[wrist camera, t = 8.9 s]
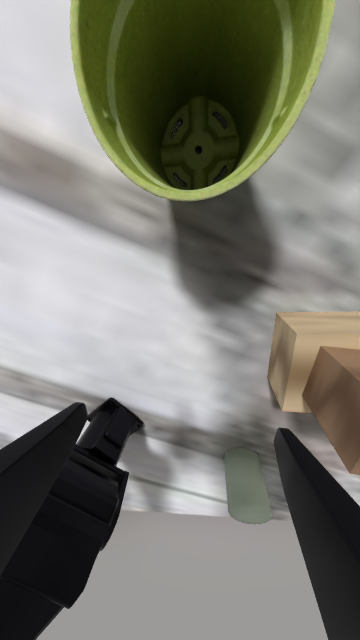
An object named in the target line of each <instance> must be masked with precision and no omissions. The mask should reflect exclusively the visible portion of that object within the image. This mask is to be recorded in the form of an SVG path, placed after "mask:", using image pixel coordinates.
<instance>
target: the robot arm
mask: <svg viewBox="0 0 360 640" xmlns="http://www.w3.org/2000/svg"><path fill="white" fill-rule="evenodd" d="M87 420H88V421H89V422H91V423H90V424H89V426H88V427H87V429H86V430H85V432H84V433H83V435H82V436H81V438H80V439H79V441H78V442H77V440H78V438H79V436H80V434H81V431H82V429H83V427H84V425H85V423H86V421H87ZM142 426H143V423H142V422H141V421H140V420H139V419H138V418H136V417H135V416H134V415H133V414H132V413H130V412H129V411H128V410H127V409H125V408H124V407H123V406H122V405H120V404H119V403H118V402H117V401H116V400H114V399H113V398H109V399H107V400H106V401H105V402H104V403H102V404H101V405H100V406H99V407H97V408H96V409H95V410H94V411H93V412H91V413H90V414H89V415H88V413H87V409H86V406H85V404H84V403H81V402H76V403H74V404H72V405H70V406H69V407H67V408H66V409H64V410H62V411H61V412H59V413H58V414H56V415H54V416H53V417H51V418H50V419H48V420H47V421H45V422H43V423H42V424H40V425H39V426H37V427H35V428H34V429H32V430H31V431H29V432H28V433H26V434H24V435H23V436H21V437H20V438H18V439H16V440H15V441H13V442H12V443H10V444H8V445H7V446H5V447H4V448H2V449H1V450H0V640H36V639H37V637H38V636H39V635H40V634H41V633H42V632H43V630H44V629H45V628H46V627H47V626H48V625H49V624H50V623H51V621H52V620H53V619H54V618H55V617H56V616H57V615H58V613H59V612H60V611H61V610H62V609H63V608H64V607H65V608H67V609H69V608H70V607H72V605H73V604H74V603H75V601H76V600H77V599H78V597H79V596H80V594H81V593H82V592H83V590H84V588H85V586H86V583H87V580H88V578H89V575H90V573H91V570H92V567H93V564H94V562H95V559H96V557H97V555H98V553H99V551H101V550H103V548H104V547H105V546H106V543H107V542H108V540H109V539H110V537H111V534H112V532H113V530H114V528H115V525H116V523H117V520H118V517H119V513H120V510H121V506H122V501H123V497H124V493H125V488H126V484H127V480H128V476H129V472H127V471H123V470H121V469H120V468H118V467H116V466H117V463H118V461H119V459H120V456H121V454H122V451H123V449H124V446H125V444H126V442H127V439H128V437H129V435H131V434H133V433H134V432H136V431H137V430H139V429H140V428H142ZM76 442H77V444H76ZM274 447H275V452H276V457H277V462H278V466H279V471H280V476H281V481H282V486H283V490H284V493H285V497H286V500H287V504H288V507H289V510H290V514H291V517H292V520H293V524H294V527H295V530H296V534H297V537H298V540H299V543H300V547H301V550H302V553H303V557H304V560H305V563H306V567H307V570H308V573H309V577H310V580H311V583H312V587H313V590H314V593H315V597H316V600H317V603H318V607H319V610H320V613H321V616H322V620H323V623H324V627H325V630H326V633H327V637H328V640H360V506H359V505H358V504H357V503H356V502H355V501H354V500H353V498H352V497H351V496H350V495H349V494H348V493H347V492H346V491H345V490H344V489H343V488H342V486H341V485H340V484H339V483H338V482H337V481H336V480H335V479H334V478H333V477H332V475H331V474H330V473H329V472H328V471H327V470H326V469H325V468H324V467H323V466H322V465H321V463H320V462H319V461H318V460H317V459H316V458H315V457H314V456H313V455H312V454H311V452H310V451H309V450H308V449H307V448H306V447H305V446H304V445H303V444H302V443H301V442H300V440H299V439H298V438H297V437H296V436H295V435H294V434H293V433H292V432H291V431H290V430H289V429H287V428H278V429H277V432H276V435H275V439H274Z"/></svg>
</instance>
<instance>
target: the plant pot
mask: <svg viewBox="0 0 360 640" xmlns="http://www.w3.org/2000/svg"><path fill="white" fill-rule="evenodd" d="M335 4H336V0H71V10H70V39H71V50H72V60H73V66H74V72H75V78H76V82H77V87H78V91H79V95H80V98H81V101H82V104H83V107H84V110H85V113H86V115H87V118H88V120H89V123H90V125H91V127H92V130H93V132H94V134H95V136H96V138H97V140H98V141H99V143H100V145H101V147H102V148H103V150H104V151H105V153H106V154H107V156H108V157H109V158H110V160H111V161H112V162H113V163H114V164H115V166H116V167H117V168H118V169H119V170H120V171H121V172H122V173H123V174H124V175H125V176H126V177H127V178H129V179H130V180H131V181H132V182H134V183H135V184H136V185H138V186H139V187H141V188H142V189H144V190H146V191H148V192H150V193H152V194H154V195H156V196H159V197H162V198H166V199H169V200H174V201H185V202H189V201H200V200H205V199H209V198H213V197H216V196H218V195H221V194H223V193H226V192H228V191H229V190H231V189H233V188H235V187H237V186H238V185H240V184H241V183H243V182H244V181H245V180H247V179H248V178H249V177H250V176H252V175H253V174H254V173H255V172H256V171H257V170H259V169H260V168H261V167H262V166H263V165H264V164H265V163H266V162H267V161H268V159H269V158H270V157H271V156H272V155H273V154H274V153H275V151H276V150H277V149H278V148H279V146H280V145H281V144H282V142H283V141H284V139H285V138H286V137H287V135H288V134H289V132H290V131H291V129H292V128H293V126H294V124H295V122H296V121H297V119H298V117H299V115H300V114H301V112H302V110H303V108H304V106H305V104H306V102H307V99H308V97H309V95H310V93H311V90H312V88H313V86H314V83H315V81H316V78H317V76H318V73H319V70H320V67H321V64H322V61H323V58H324V54H325V50H326V47H327V43H328V39H329V34H330V29H331V24H332V19H333V14H334V9H335ZM214 112H218V113H219V114H220V115H221V116H222V117H223V118H224V119H225V121H226V122H227V127H226V128H225V129H224V128H223V126H222V125H221V123H220V122H219V120H218V119H217V118H215V117H214V116H213V113H214ZM180 119H183V124H182V125H181V126H180V127H179V129H178V130H177V132H176V133H175V135H174V136H173V138H172V139H171V133H172V130H173V128H174V126H175V124H176V123H177V122H178V120H180ZM198 146H200V147H201V148H202V152H201V154H199V155H198V154H197V153H196V152H195V149H196V147H198ZM224 166H226V167H227V169H226V173H225V174H224V175H223V176H222V178H221V179H220V180H219V181H218V182H217V183H213V180H214V179H215V178H216V177H217V176H218V174H219V173H220V172H221V170H222V168H223V167H224ZM174 173H176V174H177V175H178V176H179V178H180V179H181V180H182V181H183V182H185V183H186V184H187V186H186V187H183V186H182V185H181V184H180V183H179V182H176V180H175V179H174V177H173V175H174Z"/></svg>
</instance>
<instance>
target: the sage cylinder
mask: <svg viewBox="0 0 360 640" xmlns="http://www.w3.org/2000/svg"><path fill="white" fill-rule="evenodd" d="M224 462H225V475H226V489H227V502H228V512H229V514H230V515H231V516H232V517H233V518H234V519H236V520H238V521H241V522H243V523H248V524H261V523H265V522H267V521H269V520H270V519H271V518H272V511H271V507H270V502H269V498H268V494H267V490H266V485H265V481H264V477H263V473H262V469H261V464H260V460H259V457H258V455H257V454H256V453H255V452H254V451H252V450H250V449H247V448H233V449H230V450H228V451H227V452H226V453H225V455H224Z"/></svg>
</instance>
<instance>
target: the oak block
mask: <svg viewBox="0 0 360 640" xmlns="http://www.w3.org/2000/svg"><path fill="white" fill-rule="evenodd" d="M320 346H328V347H339V348H349V349H360V312H278V313H276V318H275V325H274V333H273V340H272V347H271V354H270V362H269V369H268V376H267V378H268V380H269V382H270V384H271V387H272V389H273V391H274V394H275V396H276V398H277V400H278V403H279V405H280V407H281V410H282V411H288V412H303V413H312V411H311V409H310V408H309V406H308V405H307V403H306V401H305V400H304V398H303V396H302V393H303V391H304V388H305V386H306V383H307V380H308V378H309V375H310V372H311V370H312V367H313V364H314V362H315V359H316V356H317V354H318V351H319V348H320Z"/></svg>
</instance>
